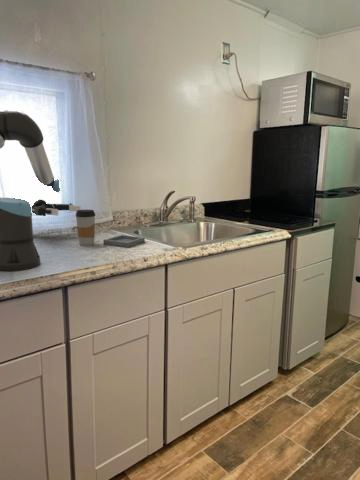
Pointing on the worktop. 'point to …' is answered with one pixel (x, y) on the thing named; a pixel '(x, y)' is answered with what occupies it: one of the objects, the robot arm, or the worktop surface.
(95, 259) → the worktop surface
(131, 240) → the dish
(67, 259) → the worktop surface
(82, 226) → the coffee cup
